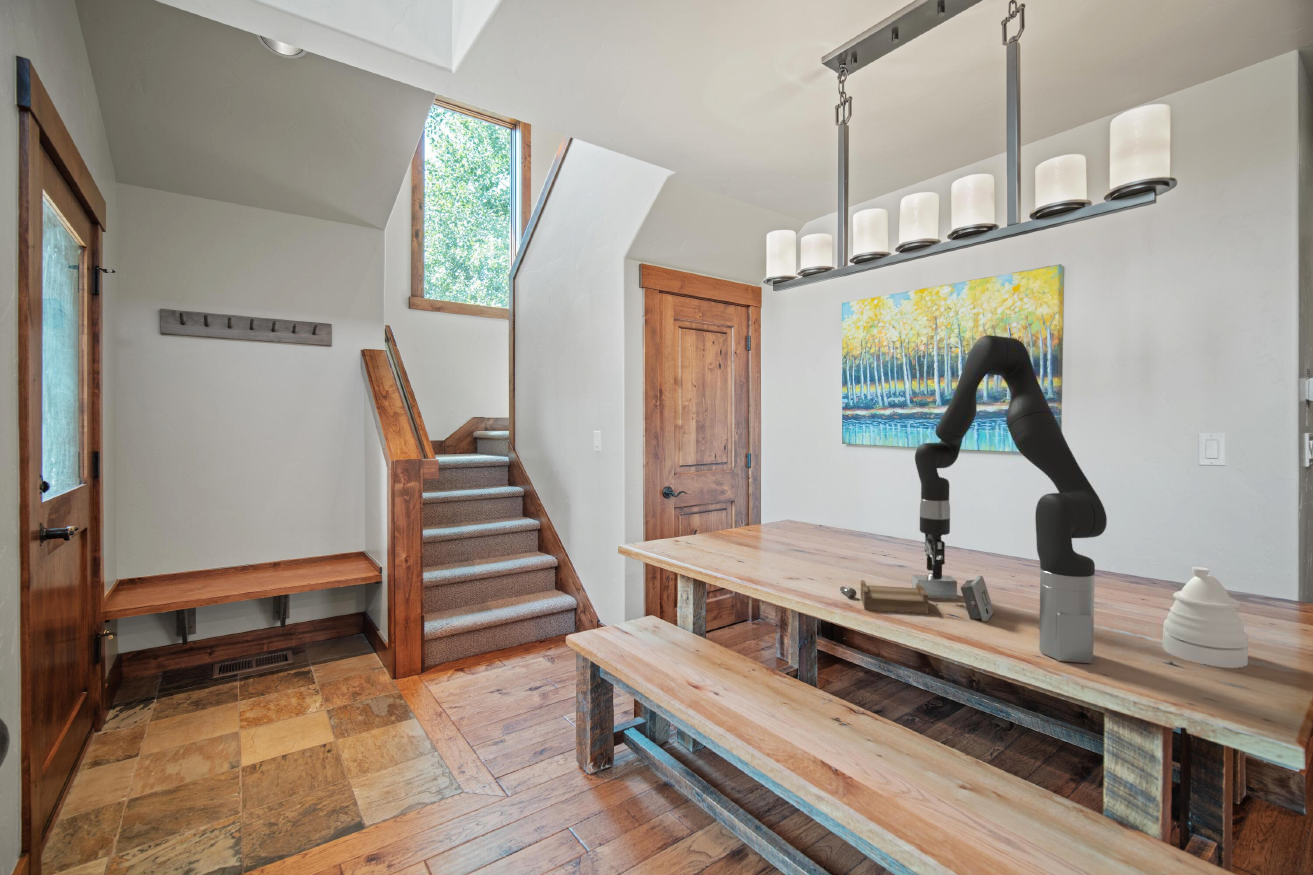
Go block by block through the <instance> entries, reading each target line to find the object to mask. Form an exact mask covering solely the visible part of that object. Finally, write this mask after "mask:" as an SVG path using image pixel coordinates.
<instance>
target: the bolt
mask: <svg viewBox="0 0 1313 875" xmlns="http://www.w3.org/2000/svg"><path fill="white" fill-rule="evenodd" d="M839 588H840V589H839V590H840V592H841V593H843V594H844V595H845V596H846V597H847V598H849V599H855V598H856V596H857V591H856V589H854V588H853V587H846V586H843V585H842V586H840V587H839Z"/></svg>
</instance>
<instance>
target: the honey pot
mask: <svg viewBox="0 0 1313 875" xmlns="http://www.w3.org/2000/svg"><path fill="white" fill-rule="evenodd" d="M1191 570H1192V573H1193V575H1194V576H1193V577H1192V578H1191V579H1190V580H1188V581H1187V582H1186V584H1185V585H1184V586H1183V588H1182V589H1181V590H1178V591H1175V592H1174V593H1173V598H1174V599H1175V601H1174V603H1173V605H1172V606H1170V608H1169V612H1168V614H1167V618H1166V619H1164V621H1163V632H1162V649H1163V650H1164V652H1167V653H1168V654H1169V653H1170V655H1171V656H1174V657H1175V658H1179V659H1182V660H1185V661H1188V662H1191V663H1195V664H1199V665H1204V664H1206V665H1205V666H1209V665H1210V666H1211V667H1217V668H1226V669H1227V668H1228V669H1230V668H1231V669H1236V668H1237V669H1239V667H1240V668H1245V667H1246V666H1248V665H1249V637H1248V634H1247V632H1246V631H1245V627H1244V625H1243V624H1242V618H1241V617H1240V616H1239V614H1238V611H1237V609H1238V608H1240V606H1241V604H1240V601H1238V600H1237V599H1235V598H1232V597H1230V594H1229V593H1228V592H1227V590H1226V588H1225V587H1224V586H1223V584H1222V583H1221V582H1220V581H1219V580H1218V579H1217V578H1216V577H1214V576H1213V575H1212V574H1209V572H1210V569H1209V568H1206V567H1203V566H1201V567H1200V566H1192V567H1191ZM1244 666H1245V667H1244Z"/></svg>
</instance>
